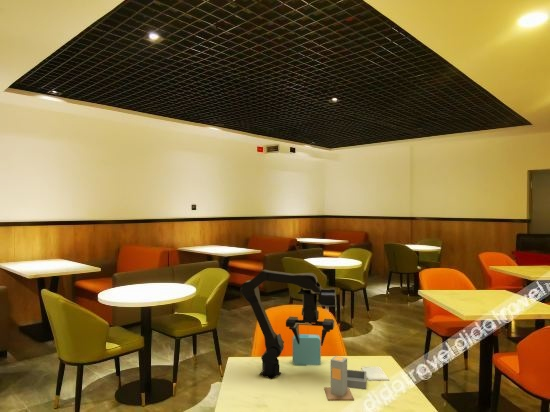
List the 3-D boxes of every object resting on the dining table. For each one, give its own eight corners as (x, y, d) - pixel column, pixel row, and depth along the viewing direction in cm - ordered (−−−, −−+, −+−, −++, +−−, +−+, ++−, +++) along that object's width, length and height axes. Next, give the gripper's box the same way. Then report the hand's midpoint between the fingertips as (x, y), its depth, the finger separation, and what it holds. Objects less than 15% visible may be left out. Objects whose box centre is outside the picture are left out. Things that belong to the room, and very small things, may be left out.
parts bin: (338, 387, 146) (338, 379, 146) (340, 376, 155) (340, 368, 155) (365, 390, 143) (365, 382, 143) (366, 379, 153) (366, 371, 153)
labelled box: (330, 393, 138) (330, 359, 138) (335, 388, 142) (335, 355, 142) (342, 396, 136) (342, 362, 136) (347, 391, 140) (347, 357, 140)
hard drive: (360, 366, 163) (368, 379, 150) (380, 366, 163) (389, 378, 151) (360, 370, 163) (368, 383, 150) (380, 370, 163) (389, 383, 150)
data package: (320, 362, 171) (320, 334, 171) (320, 366, 166) (320, 337, 166) (292, 361, 171) (292, 334, 172) (292, 365, 167) (292, 337, 167)
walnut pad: (328, 401, 134) (327, 398, 134) (324, 390, 143) (324, 387, 143) (353, 401, 134) (353, 398, 134) (348, 389, 143) (348, 387, 143)
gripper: (335, 302, 160) (336, 340, 159) (291, 299, 165) (291, 336, 164) (332, 308, 149) (333, 349, 149) (285, 305, 154) (285, 345, 153)
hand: (310, 344), depth 154 cm, fingers open, 9 cm apart
